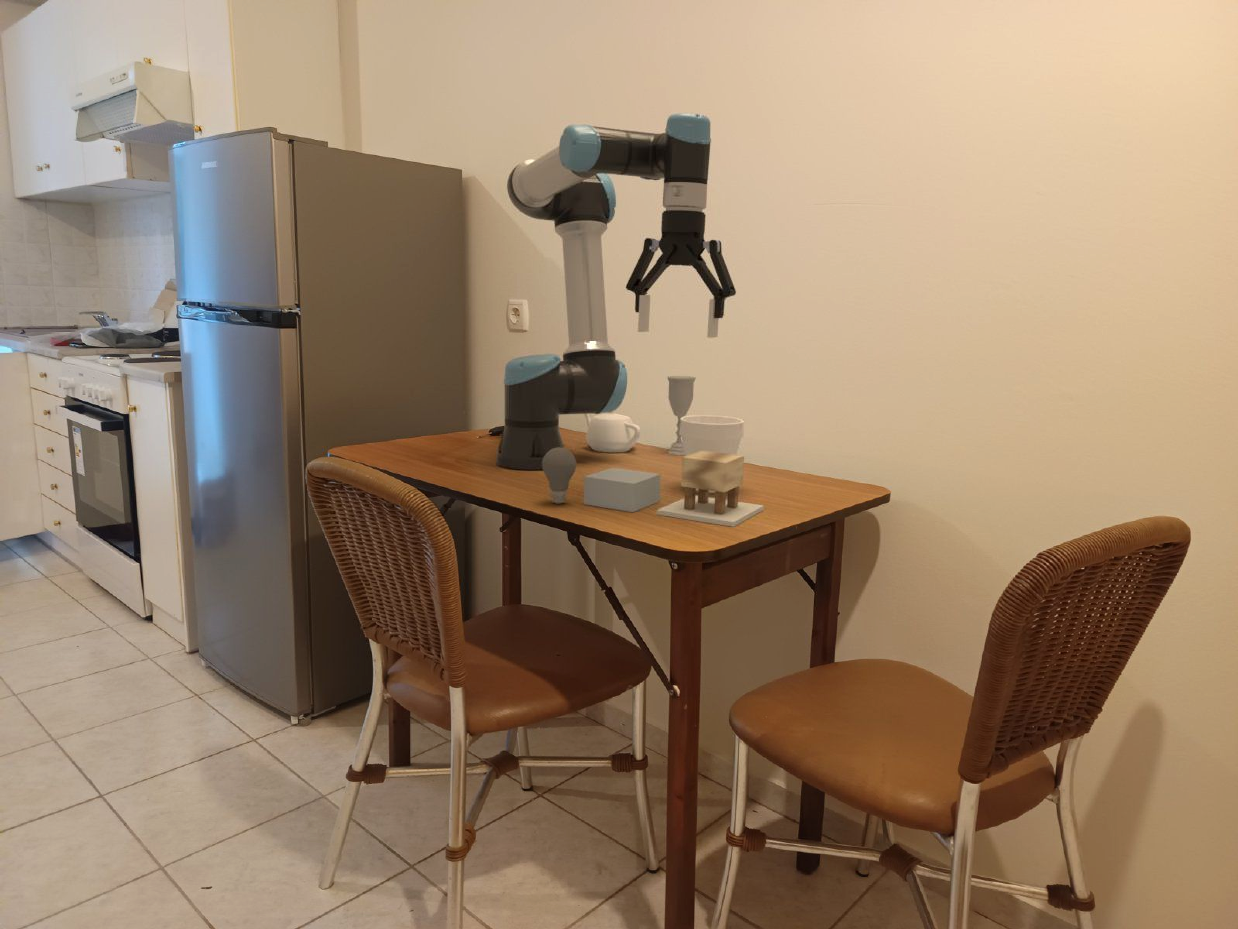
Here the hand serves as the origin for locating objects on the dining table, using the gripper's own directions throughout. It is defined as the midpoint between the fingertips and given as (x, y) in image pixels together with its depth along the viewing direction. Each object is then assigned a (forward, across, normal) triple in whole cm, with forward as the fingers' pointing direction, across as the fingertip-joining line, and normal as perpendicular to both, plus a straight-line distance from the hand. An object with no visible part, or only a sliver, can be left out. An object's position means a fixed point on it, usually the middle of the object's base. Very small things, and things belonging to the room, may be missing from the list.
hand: (677, 334), depth 155 cm
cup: (+30, +3, +11) cm, 32 cm away
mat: (+29, +11, -6) cm, 32 cm away
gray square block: (+30, -5, -9) cm, 31 cm away
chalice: (+31, -18, +43) cm, 56 cm away
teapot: (+32, -34, +38) cm, 61 cm away
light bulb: (+30, -14, -16) cm, 37 cm away
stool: (+29, +11, -6) cm, 31 cm away
